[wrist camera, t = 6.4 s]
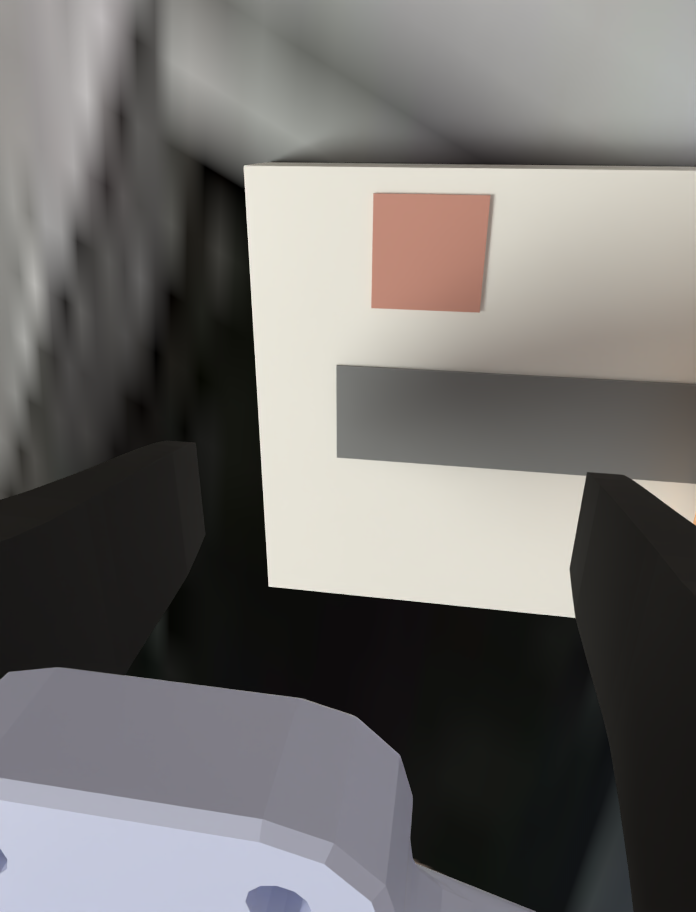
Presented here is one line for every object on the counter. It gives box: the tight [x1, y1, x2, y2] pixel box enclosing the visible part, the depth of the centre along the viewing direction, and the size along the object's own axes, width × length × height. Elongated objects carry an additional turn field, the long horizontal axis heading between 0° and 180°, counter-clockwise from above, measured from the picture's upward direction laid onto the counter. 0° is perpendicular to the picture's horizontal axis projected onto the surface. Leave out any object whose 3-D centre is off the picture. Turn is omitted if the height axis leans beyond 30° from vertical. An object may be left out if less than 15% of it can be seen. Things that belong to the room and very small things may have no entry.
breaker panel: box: [244, 162, 696, 618], centre depth 16 cm, size 11×16×2 cm
